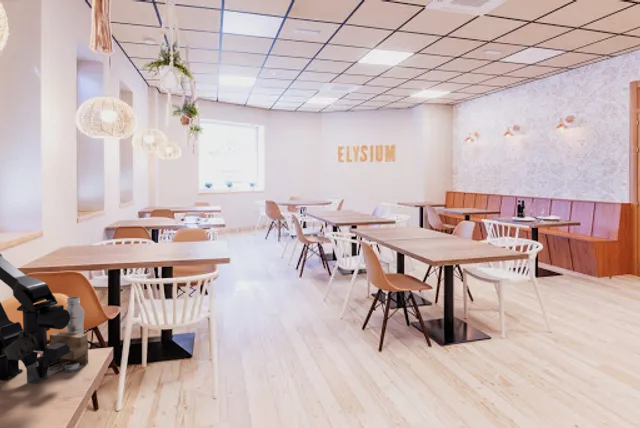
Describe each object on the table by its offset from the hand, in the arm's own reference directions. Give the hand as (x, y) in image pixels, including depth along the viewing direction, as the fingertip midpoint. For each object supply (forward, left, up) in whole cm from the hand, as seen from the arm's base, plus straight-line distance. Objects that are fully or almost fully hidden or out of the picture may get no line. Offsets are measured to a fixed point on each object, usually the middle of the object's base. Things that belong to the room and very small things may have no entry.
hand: (37, 377), depth 129 cm
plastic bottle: (-2, +18, -1) cm, 18 cm away
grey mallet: (0, +4, -1) cm, 4 cm away
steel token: (+5, +8, -1) cm, 10 cm away
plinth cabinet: (0, +11, -1) cm, 11 cm away
